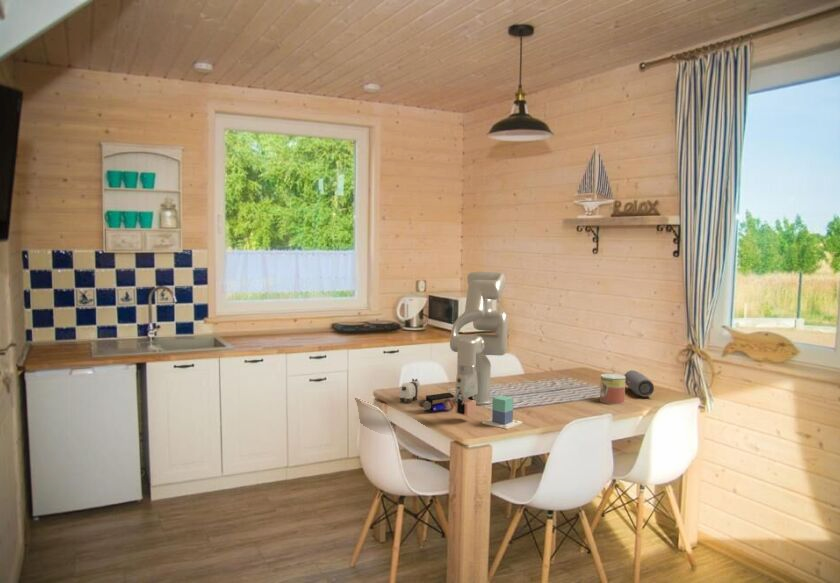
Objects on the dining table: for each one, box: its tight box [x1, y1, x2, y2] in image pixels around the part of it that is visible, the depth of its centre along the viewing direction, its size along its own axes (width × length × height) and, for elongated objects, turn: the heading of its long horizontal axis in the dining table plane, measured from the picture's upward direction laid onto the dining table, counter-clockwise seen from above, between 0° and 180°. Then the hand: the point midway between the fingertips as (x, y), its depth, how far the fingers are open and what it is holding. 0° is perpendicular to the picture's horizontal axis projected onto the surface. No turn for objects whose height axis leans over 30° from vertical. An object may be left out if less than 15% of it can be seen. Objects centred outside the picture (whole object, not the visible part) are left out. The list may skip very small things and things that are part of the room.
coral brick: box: [455, 398, 477, 417], centre depth 270 cm, size 6×6×5 cm
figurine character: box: [417, 392, 455, 414], centre depth 284 cm, size 7×8×15 cm
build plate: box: [481, 409, 524, 430], centre depth 267 cm, size 12×12×6 cm
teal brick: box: [492, 395, 514, 413], centre depth 267 cm, size 6×6×5 cm
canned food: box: [599, 373, 626, 405], centre depth 307 cm, size 11×11×12 cm
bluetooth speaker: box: [624, 370, 655, 397], centre depth 324 cm, size 23×9×10 cm, turn 178°
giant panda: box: [398, 378, 421, 404], centre depth 303 cm, size 15×6×10 cm, turn 152°
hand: (465, 411), depth 270 cm, fingers closed on coral brick, 6 cm apart
